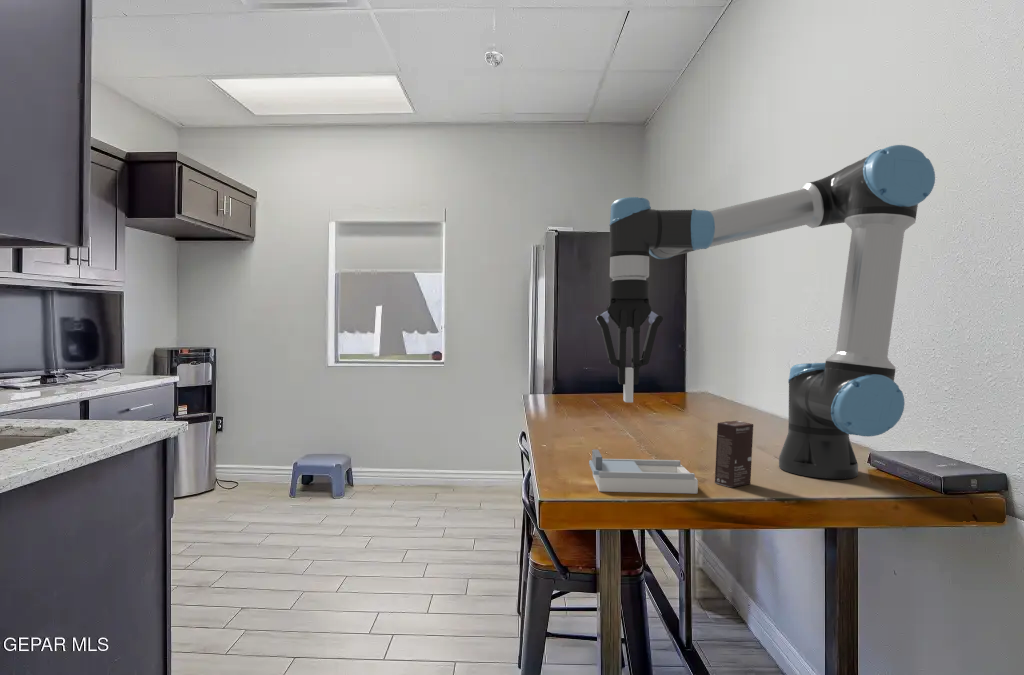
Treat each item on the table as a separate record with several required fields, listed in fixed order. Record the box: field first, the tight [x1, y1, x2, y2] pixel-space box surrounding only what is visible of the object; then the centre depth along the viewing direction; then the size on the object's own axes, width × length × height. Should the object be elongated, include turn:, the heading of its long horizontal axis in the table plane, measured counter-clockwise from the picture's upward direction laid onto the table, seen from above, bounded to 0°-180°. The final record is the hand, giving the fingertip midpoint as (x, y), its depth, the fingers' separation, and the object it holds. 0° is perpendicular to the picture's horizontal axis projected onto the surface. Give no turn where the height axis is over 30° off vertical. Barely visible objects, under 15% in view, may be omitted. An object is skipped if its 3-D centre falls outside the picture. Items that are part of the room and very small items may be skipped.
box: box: [714, 420, 754, 488], centre depth 115 cm, size 6×4×12 cm
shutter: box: [588, 449, 642, 475], centre depth 115 cm, size 9×9×3 cm
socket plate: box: [592, 458, 699, 494], centre depth 114 cm, size 18×12×4 cm, turn 88°
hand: (628, 401), depth 114 cm, fingers closed
